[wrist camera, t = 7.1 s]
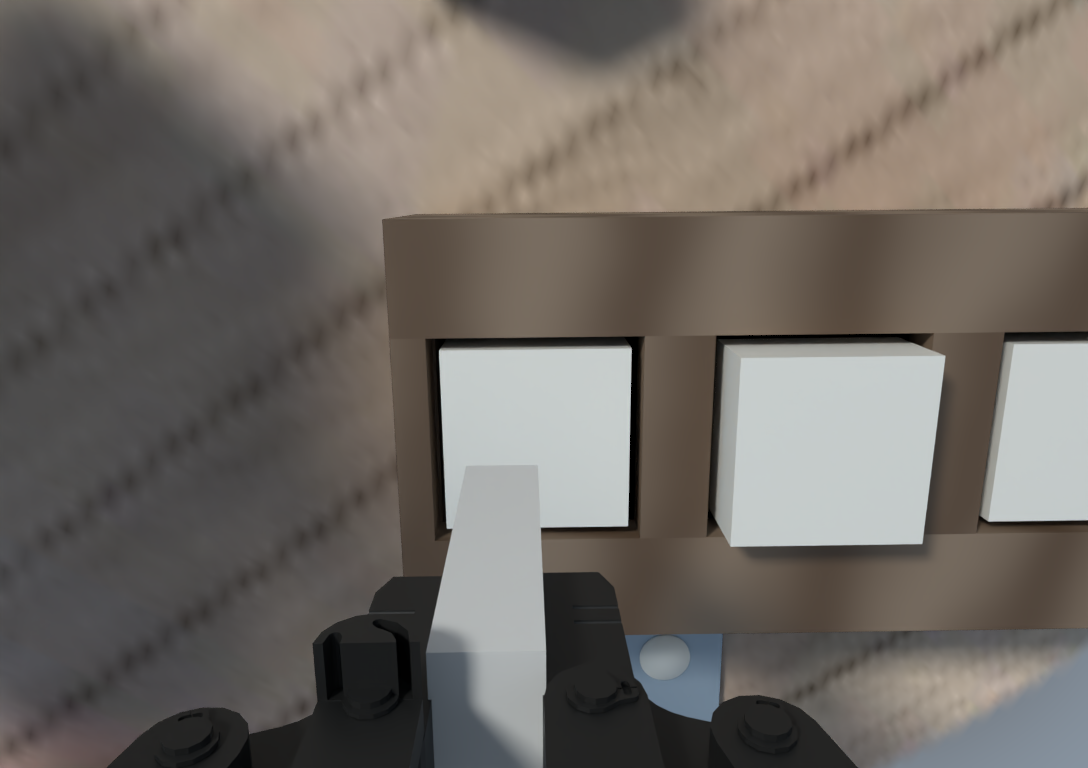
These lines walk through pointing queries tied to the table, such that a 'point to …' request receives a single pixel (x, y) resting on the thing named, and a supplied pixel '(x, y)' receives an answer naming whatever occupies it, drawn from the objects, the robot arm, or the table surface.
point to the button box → (688, 381)
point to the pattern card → (679, 671)
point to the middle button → (823, 440)
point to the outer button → (1039, 430)
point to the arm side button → (542, 420)
